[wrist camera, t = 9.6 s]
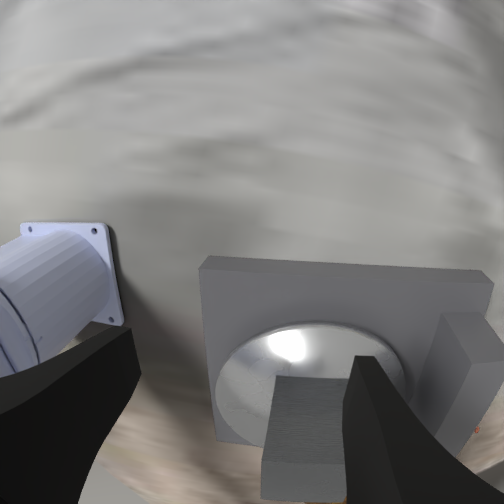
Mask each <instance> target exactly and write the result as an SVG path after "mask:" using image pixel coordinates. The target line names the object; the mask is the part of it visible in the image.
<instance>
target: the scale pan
mask: <svg viewBox="0 0 504 504" xmlns="http://www.w3.org/2000/svg"><path fill="white" fill-rule="evenodd" d="M355 355H360V356H375V358H376V359H377V361H378V362H379V364H380V365H381V367H382V368H383V370H384V371H385V373H386V374H387V376H388V377H389V379H390V380H391V382H392V383H393V385H394V386H395V388H396V389H397V391H398V392H399V394H400V395H401V396H402V398H403V399H404V400H405V394H406V381H405V377H404V373H403V370H402V367H401V364H400V362H399V360H398V358H397V356H396V354H395V353H394V352H393V350H392V349H391V348H390V347H389V346H388V345H387V344H386V343H385V342H384V341H383V340H381V339H380V338H378V337H377V336H375V335H374V334H372V333H370V332H368V331H366V330H364V329H361V328H358V327H356V326H353V325H349V324H345V323H340V322H334V321H324V320H306V321H297V322H290V323H285V324H281V325H277V326H274V327H271V328H268V329H265V330H263V331H261V332H259V333H256V334H254V335H253V336H251V337H249V338H248V339H246V340H245V341H243V342H242V343H241V344H240V345H238V346H237V347H236V348H235V349H234V350H233V351H232V352H231V353H230V355H229V356H228V357H227V359H226V360H225V362H224V364H223V366H222V369H221V371H220V374H219V376H218V379H217V383H216V388H215V397H216V402H217V406H218V409H219V411H220V413H221V415H222V417H223V418H224V420H225V421H226V423H227V424H228V425H229V426H230V427H231V428H232V429H233V430H234V431H235V432H236V433H237V434H238V435H240V436H241V437H243V438H244V439H246V440H247V441H249V442H251V443H252V444H254V445H257V446H259V447H261V448H264V445H265V439H266V433H267V428H268V422H269V416H270V410H271V404H272V398H273V392H274V385H275V379H276V375H279V376H294V377H313V378H344V379H349V376H350V373H351V369H352V365H353V361H354V357H355Z"/></svg>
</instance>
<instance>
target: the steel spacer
mask: <svg viewBox="0 0 504 504" xmlns="http://www.w3.org/2000/svg"><path fill="white" fill-rule="evenodd" d="M348 380H349V379H344V378H313V377H294V376H279V375H276V379H275V385H274V392H273V398H272V404H271V410H270V416H269V422H268V428H267V433H266V439H265V445H264V450H263V456H262V464H261V499H266V500H277V501H291V502H318V503H338V502H343V501H344V499H345V497H346V496H347V487H346V472H345V459H344V447H343V435H342V408H343V398H344V395H345V391H346V388H347V384H348Z"/></svg>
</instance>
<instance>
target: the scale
mask: <svg viewBox="0 0 504 504" xmlns="http://www.w3.org/2000/svg"><path fill="white" fill-rule="evenodd" d="M199 279H200V292H201V304H202V316H203V327H204V338H205V348H206V357H207V367H208V376H209V385H210V393H211V401H212V409H213V417H214V424H215V432H216V439H217V441H222V442H229V443H235V444H243V445H251V446H257V445H254V444H252V443H251V442H249V441H247V440H246V439H244V438H243V437H241V436H240V435H238V434H237V433H236V432H235V431H234V430H233V429H232V428H231V427H230V426H229V425H228V424H227V423H226V421H225V420H224V418H223V417H222V415H221V413H220V411H219V409H218V406H217V402H216V397H215V388H216V383H217V379H218V376H219V374H220V371H221V369H222V366H223V364H224V362H225V360H226V359H227V357H228V356H229V355H230V353H231V352H232V351H233V350H234V349H235V348H236V347H237V346H238V345H240V344H241V343H242V342H243V341H245V340H246V339H248V338H249V337H251V336H253V335H254V334H256V333H259V332H261V331H263V330H265V329H268V328H271V327H274V326H277V325H281V324H285V323H290V322H297V321H306V320H324V321H334V322H340V323H345V324H349V325H353V326H356V327H358V328H361V329H364V330H366V331H368V332H370V333H372V334H374V335H375V336H377V337H378V338H380V339H381V340H383V341H384V342H385V343H386V344H387V345H388V346H389V347H390V348H391V349H392V350H393V352H394V353H395V354H396V356H397V358H398V360H399V362H400V364H401V367H402V370H403V373H404V377H405V381H406V394H405V402H406V403H407V405H408V406H409V407H410V409H411V410H412V411H413V413H414V414H415V415H416V416H417V418H418V419H419V420H420V421H421V423H422V424H423V425H424V426H425V428H426V429H427V430H428V431H429V432H430V433H431V434H432V436H433V437H434V438H435V439H436V440H437V441H438V442H439V443H440V444H441V445H442V446H443V447H444V448H445V449H446V450H447V451H448V452H449V453H450V454H451V455H453V456H454V457H456V456H457V455H458V453H459V452H460V450H461V449H462V448H463V446H464V445H465V443H466V442H467V441H468V439H469V438H470V436H471V435H472V433H473V432H475V433H478V431H479V427H478V424H479V422H480V421H481V419H482V418H483V416H484V414H485V413H486V411H487V410H488V408H489V406H490V404H491V403H492V401H493V399H494V398H495V396H496V394H497V392H498V390H499V389H500V387H501V385H502V383H503V381H504V344H503V342H502V341H501V340H500V338H499V337H498V336H497V334H496V333H495V331H494V330H493V329H492V327H491V326H490V325H489V323H488V322H487V321H486V319H485V318H484V315H485V313H486V310H487V306H488V303H489V300H490V297H491V294H492V290H493V287H494V283H493V282H492V281H491V280H490V279H489V278H488V277H487V276H486V275H485V274H484V273H483V272H482V271H477V270H456V269H436V268H416V267H397V266H378V265H359V264H341V263H323V262H305V261H288V260H270V259H253V258H236V257H220V256H208V257H207V259H206V260H205V261H204V262H203V264H202V265H201V266H200V268H199Z"/></svg>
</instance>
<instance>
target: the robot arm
mask: <svg viewBox="0 0 504 504" xmlns="http://www.w3.org/2000/svg"><path fill="white" fill-rule="evenodd" d="M95 228H96V229H97V233H96V232H95ZM20 232H21V236H20V237H18V238H16V239H14V240H12V241H10V242H8V243H6V244H4V245H2V246H0V504H78V501H79V498H80V495H81V492H82V489H83V486H84V484H85V481H86V479H87V476H88V473H89V471H90V469H91V466H92V464H93V462H94V459H95V457H96V455H97V453H98V451H99V449H100V447H101V445H102V444H103V442H104V440H105V439H106V437H107V435H108V434H109V432H110V431H111V429H112V427H113V426H114V424H115V423H116V421H117V419H118V418H119V416H120V415H121V413H122V411H123V410H124V408H125V407H126V405H127V403H128V402H129V400H130V398H131V396H132V394H133V392H134V390H135V388H136V385H137V383H138V381H139V378H140V376H141V370H140V366H139V362H138V358H137V353H136V349H135V345H134V340H133V336H132V331H131V328H126V327H121V325H122V324H123V323H124V316H123V311H122V307H121V302H120V297H119V292H118V286H117V281H116V275H115V270H114V264H113V257H112V251H111V244H110V237H109V230H108V227H107V226H106V225H105V224H104V223H76V222H24V223H22V224H21V225H20ZM111 317H112V318H113V319H114V320H113V319H112V318H111ZM90 321H95V322H100V323H105V324H110V325H115V326H114V327H112V328H109V329H107V330H105V331H103V332H101V333H99V334H97V335H95V336H94V337H92V338H90V339H88V340H86V341H84V342H82V343H80V344H79V345H77V346H75V347H73V348H71V349H69V350H67V351H65V352H63V353H61V354H59V355H57V354H58V353H59V352H60V351H61V350H62V349H63V348H64V347H65V346H66V345H67V344H68V343H69V342H70V341H71V340H72V339H73V338H74V337H75V336H76V335H77V334H78V333H79V332H80V331H81V330H82V329H83V328H84V327H85V326H86V325H87V324H88V323H89V322H90ZM342 435H343V447H344V459H345V472H346V487H347V500H346V504H504V493H502V492H500V491H499V490H497V489H496V488H494V487H493V486H490V484H488V483H486V482H485V481H484V480H482V479H481V478H479V477H478V476H477V475H475V474H474V473H473V472H471V471H470V470H469V469H468V468H467V467H465V466H464V465H463V464H462V463H461V462H459V461H458V460H457V459H456V458H455V457H454V456H453V455H451V454H450V453H449V452H448V451H447V450H446V449H445V448H444V447H443V446H442V445H441V444H440V443H439V442H438V441H437V440H436V439H435V438H434V437H433V436H432V434H431V433H430V432H429V431H428V430H427V429H426V428H425V426H424V425H423V424H422V423H421V421H420V420H419V419H418V418H417V416H416V415H415V414H414V413H413V411H412V410H411V409H410V407H409V406H408V405H407V403H406V402H405V400H404V399H403V398H402V396H401V395H400V394H399V392H398V391H397V389H396V388H395V386H394V385H393V383H392V382H391V380H390V379H389V377H388V376H387V374H386V373H385V371H384V370H383V368H382V367H381V365H380V364H379V362H378V361H377V359H376V358H375V356H360V355H355V357H354V361H353V365H352V369H351V373H350V376H349V380H348V384H347V388H346V391H345V395H344V398H343V408H342Z"/></svg>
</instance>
